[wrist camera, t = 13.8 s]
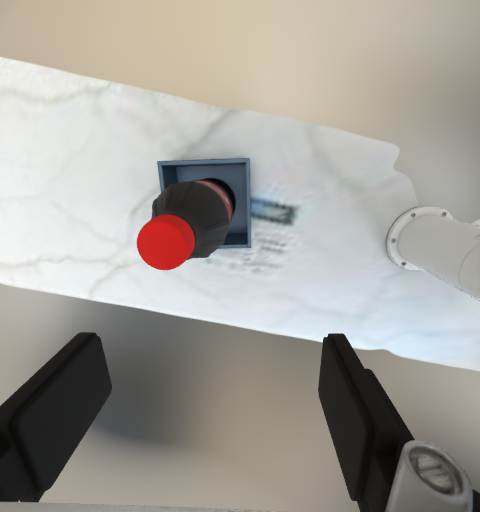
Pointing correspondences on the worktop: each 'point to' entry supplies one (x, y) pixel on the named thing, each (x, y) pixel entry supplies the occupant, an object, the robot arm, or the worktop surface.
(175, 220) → the cola bottle
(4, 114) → the worktop surface
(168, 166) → the case
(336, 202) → the worktop surface
